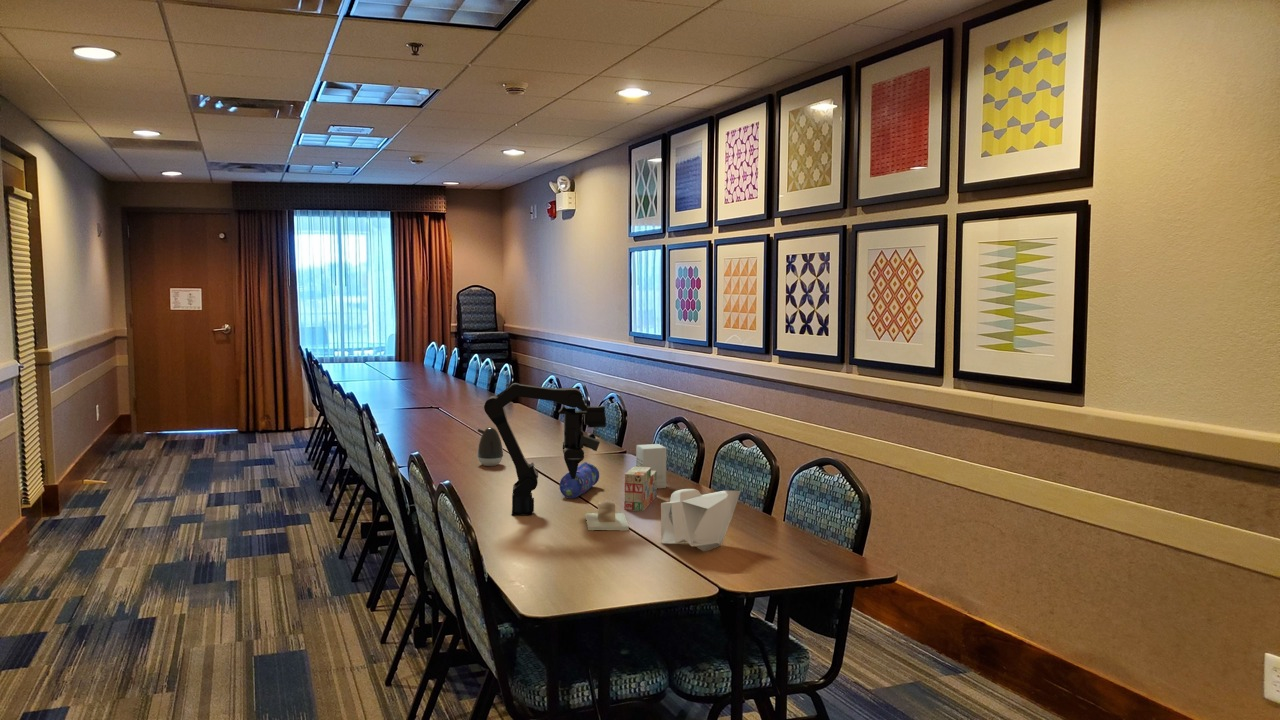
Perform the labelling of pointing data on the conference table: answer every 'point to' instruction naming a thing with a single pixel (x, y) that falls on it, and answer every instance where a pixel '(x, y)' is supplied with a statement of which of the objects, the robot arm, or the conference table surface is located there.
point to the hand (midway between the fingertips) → (572, 475)
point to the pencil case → (579, 481)
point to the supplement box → (653, 460)
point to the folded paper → (697, 517)
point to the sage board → (596, 525)
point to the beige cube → (606, 511)
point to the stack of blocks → (639, 488)
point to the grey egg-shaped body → (490, 447)
